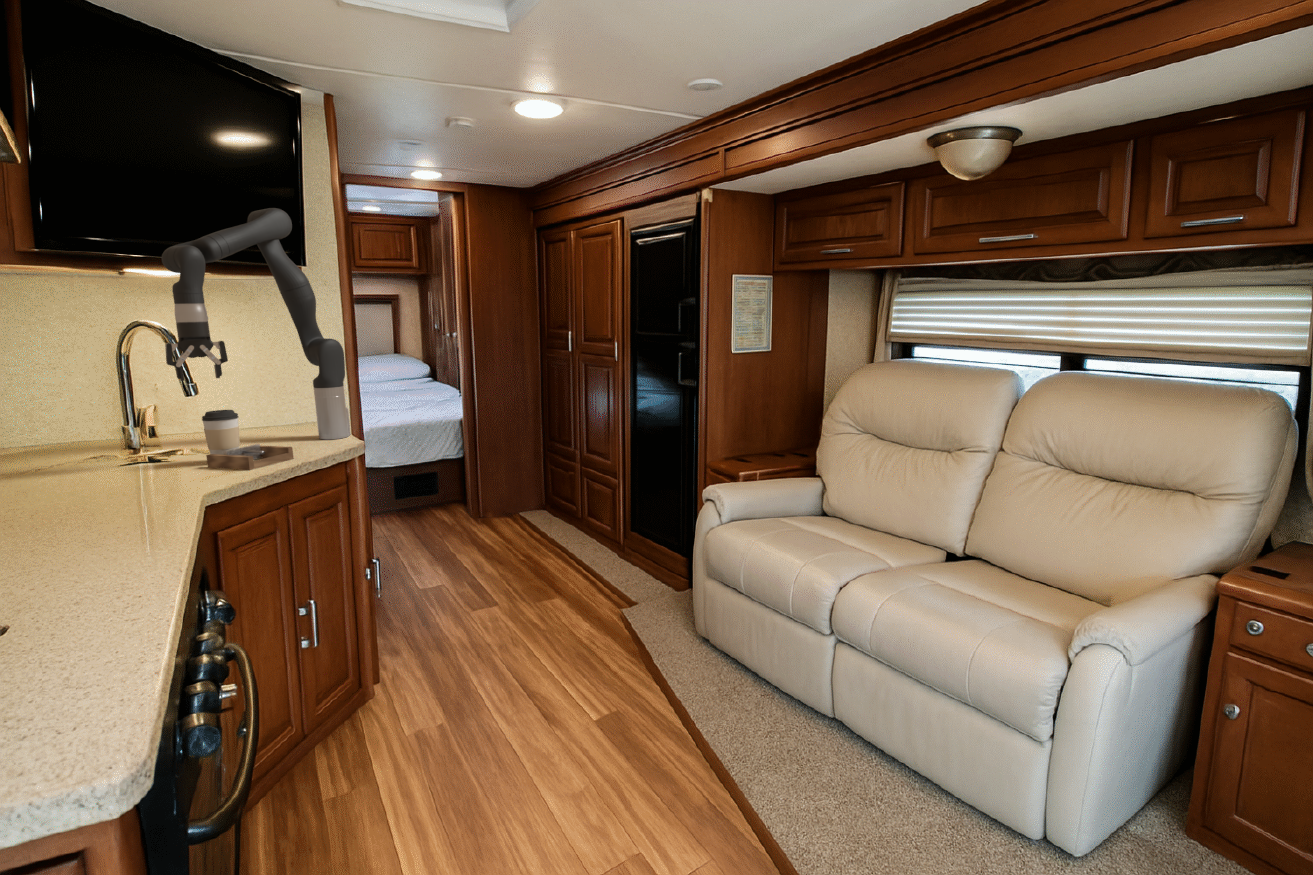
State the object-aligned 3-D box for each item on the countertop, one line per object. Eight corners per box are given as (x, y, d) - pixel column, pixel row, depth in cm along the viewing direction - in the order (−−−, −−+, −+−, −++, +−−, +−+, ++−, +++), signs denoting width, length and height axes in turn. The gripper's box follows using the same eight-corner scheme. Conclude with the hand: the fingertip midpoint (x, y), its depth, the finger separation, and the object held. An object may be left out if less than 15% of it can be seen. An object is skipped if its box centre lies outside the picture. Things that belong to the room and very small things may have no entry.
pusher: (225, 465, 197) (223, 451, 196) (258, 457, 207) (256, 444, 206) (248, 466, 194) (246, 452, 194) (280, 458, 205) (278, 445, 204)
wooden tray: (207, 467, 196) (206, 455, 196) (253, 456, 210) (252, 445, 210) (249, 470, 192) (248, 457, 191) (293, 458, 206) (292, 446, 205)
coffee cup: (200, 463, 202) (193, 411, 199) (232, 457, 210) (225, 407, 207) (219, 466, 198) (212, 412, 195) (251, 459, 206) (244, 408, 203)
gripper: (219, 320, 203) (226, 376, 206) (159, 321, 194) (167, 380, 197) (224, 319, 197) (232, 378, 200) (162, 321, 188) (171, 382, 191)
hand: (200, 379), depth 199 cm, fingers open, 8 cm apart
